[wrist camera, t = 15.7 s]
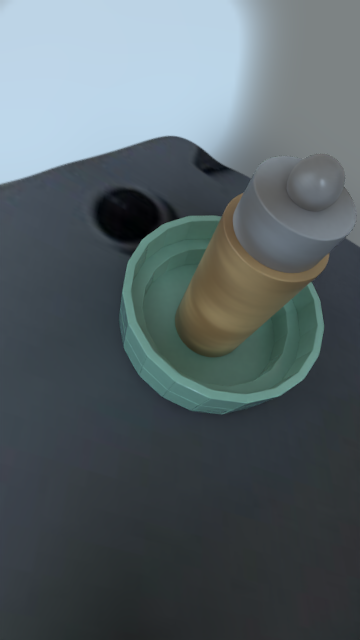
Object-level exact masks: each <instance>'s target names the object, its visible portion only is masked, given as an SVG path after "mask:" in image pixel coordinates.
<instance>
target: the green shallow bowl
mask: <svg viewBox="0 0 360 640" xmlns="http://www.w3.org/2000/svg"><path fill="white" fill-rule="evenodd" d="M220 219H221V217H220V216H215V215H214V216H187V217H184V218H181V219H177V220H174V221H171V222H168V223H165V224H163V225H161V226H160V227H159V228H157V229H156V230H154V231H153V232H152V233H150V234H149V235H148V236H146V237H145V238H144V239H143V240H142V241H141V242H140V244H139V245H138V247H137V248H136V250H135V252H134V253H133V255H132V256H131V258H130V259H129V261H128V263H127V268H126V274H125V279H124V284H123V290H122V298H121V306H120V314H119V324H120V330H121V336H122V342H123V347H124V350H125V351H126V353H127V355H128V357H129V359H130V361H131V362H132V364H133V366H134V368H135V370H136V371H137V373H138V375H139V376H140V377H141V378H142V379H143V380H144V381H145V382H147V383H148V384H149V385H150V386H151V387H152V388H153V389H154V390H155V391H156V392H157V393H158V394H159V395H160V396H163V398H165V399H167V400H169V401H171V402H174V403H176V404H178V405H180V406H182V407H184V408H186V409H188V410H192V411H197V412H205V413H214V414H227V413H231V412H235V411H240V410H244V409H248V408H251V407H254V406H256V405H259V404H261V403H264V402H266V401H269V400H271V399H274V398H276V397H279V396H281V395H282V394H284V393H285V392H286V391H288V390H289V389H291V388H292V387H294V386H295V385H296V384H298V383H299V382H301V381H302V380H304V378H305V377H306V375H307V374H308V372H309V371H310V369H311V367H312V366H313V364H314V363H315V361H316V359H317V358H318V356H319V354H320V348H321V343H322V337H323V332H324V322H323V316H322V309H321V303H320V299H319V297H318V294H317V292H316V290H315V288H314V286H313V284H312V281H311V282H310V283H309V284H308V285H307V286H306V287H305V288H304V289H302V290H301V291H300V292H299V293H298V294H297V295H296V296H294V297H293V298H292V299H291V300H290V301H289V302H288V303H287V304H285V305H284V306H283V307H282V308H281V309H280V310H279V311H278V312H276V313H275V314H274V315H273V316H272V317H271V318H270V319H268V320H267V321H266V322H265V323H264V324H263V325H262V326H261V327H259V328H258V329H257V330H256V331H255V332H254V333H253V334H252V335H250V336H249V337H248V338H247V339H246V340H245V341H244V342H242V343H241V344H240V345H239V346H238V347H237V348H236V349H235V350H233V351H232V352H231V353H229V354H227V355H225V356H221V357H206V356H202V355H200V354H197V353H195V352H194V351H192V350H191V349H189V348H188V347H187V346H186V345H185V344H184V343H183V341H182V340H181V338H180V337H179V335H178V333H177V330H176V326H175V315H176V311H177V309H178V306H179V304H180V302H181V300H182V298H183V296H184V294H185V292H186V290H187V288H188V286H189V284H190V281H191V279H192V277H193V275H194V273H195V271H196V269H197V267H198V265H199V263H200V261H201V259H202V257H203V255H204V252H205V250H206V248H207V246H208V244H209V242H210V240H211V238H212V236H213V234H214V232H215V230H216V228H217V225H218V223H219V221H220Z"/></svg>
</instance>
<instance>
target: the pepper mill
mask: <svg viewBox="0 0 360 640" xmlns="http://www.w3.org/2000/svg"><path fill="white" fill-rule="evenodd" d="M344 184H345V173H344V169H343V167H342V165H341V164H340V162H339V161H338V160H337V159H335V158H334V157H332V156H330V155H327V154H314V155H310V156H308V157H306V158H304V159H302V158H298V157H293V156H275V157H271V158H269V159H267V160H265V161H263V162H262V163H261V164H260V165H259V166H258V167H257V169H256V170H255V172H254V174H253V176H252V178H251V180H250V182H249V184H248V186H247V188H246V190H245V191H244V193H242V194H240V195H238V196H236V197H235V198H234V199H232V200H231V202H230V203H229V204H228V205H227V207H226V209H225V211H224V213H223V215H222V217H221V219H220V221H219V223H218V225H217V228H216V230H215V232H214V234H213V236H212V238H211V240H210V242H209V244H208V246H207V248H206V250H205V252H204V255H203V257H202V259H201V261H200V263H199V265H198V267H197V269H196V271H195V273H194V275H193V277H192V279H191V281H190V284H189V286H188V288H187V290H186V292H185V294H184V296H183V298H182V300H181V302H180V304H179V306H178V309H177V311H176V315H175V326H176V330H177V333H178V335H179V337H180V338H181V340H182V341H183V343H184V344H185V345H186V346H187V347H188V348H189V349H191V350H192V351H194V352H195V353H197V354H200V355H202V356H206V357H221V356H225V355H227V354H229V353H231V352H232V351H233V350H235V349H236V348H237V347H238V346H239V345H240V344H241V343H242V342H244V341H245V340H246V339H247V338H248V337H249V336H250V335H252V334H253V333H254V332H255V331H256V330H257V329H258V328H259V327H261V326H262V325H263V324H264V323H265V322H266V321H267V320H268V319H270V318H271V317H272V316H273V315H274V314H275V313H276V312H278V311H279V310H280V309H281V308H282V307H283V306H284V305H285V304H287V303H288V302H289V301H290V300H291V299H292V298H293V297H294V296H296V295H297V294H298V293H299V292H300V291H301V290H302V289H304V288H305V287H306V286H307V285H308V284H309V283H310V282H311V281H313V280H314V279H315V278H316V277H317V276H318V275H319V274H320V273H321V272H322V271H323V270H324V269H325V267H326V265H327V262H328V259H329V252H330V251H331V250H332V249H334V248H335V247H336V246H337V245H338V244H339V243H340V242H341V241H342V240H343V239H344V238H345V237H346V236H347V235H348V234H349V233H350V232H351V231H352V230H353V227H354V226H355V223H356V216H357V215H356V208H355V205H354V202H353V200H352V198H351V196H350V194H349V192H348V191H347V190H346V188H345V187H344Z"/></svg>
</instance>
